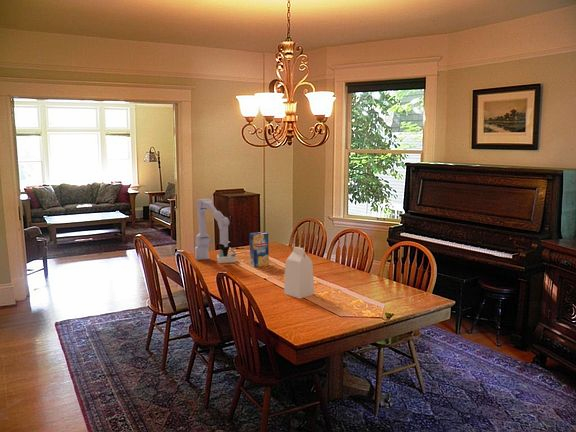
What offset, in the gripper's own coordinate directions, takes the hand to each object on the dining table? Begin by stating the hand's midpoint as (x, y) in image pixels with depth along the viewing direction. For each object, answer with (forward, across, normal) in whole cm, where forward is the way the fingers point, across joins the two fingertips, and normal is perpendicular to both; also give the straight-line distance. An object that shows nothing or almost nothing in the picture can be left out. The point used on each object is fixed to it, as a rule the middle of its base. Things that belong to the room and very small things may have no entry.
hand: (224, 255), depth 327 cm
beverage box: (+7, -8, -22) cm, 25 cm away
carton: (+7, +10, -3) cm, 13 cm away
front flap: (-1, +4, 0) cm, 4 cm away
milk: (+6, -76, -28) cm, 81 cm away
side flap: (0, +10, -7) cm, 12 cm away
